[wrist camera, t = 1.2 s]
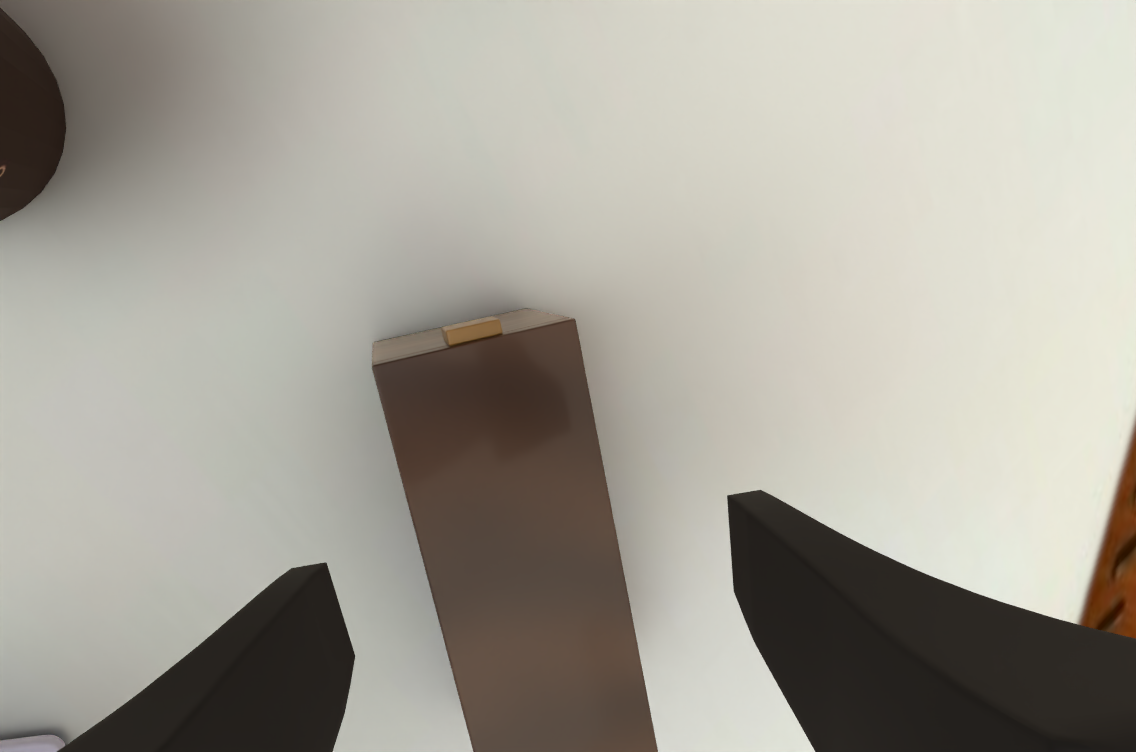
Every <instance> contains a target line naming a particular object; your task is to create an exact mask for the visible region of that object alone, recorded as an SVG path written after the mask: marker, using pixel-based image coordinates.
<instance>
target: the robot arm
mask: <svg viewBox="0 0 1136 752" xmlns="http://www.w3.org/2000/svg"><path fill="white" fill-rule="evenodd" d="M727 499H728V514H729V528H730V543H731V557H732V572H733V586H734V593H735V595H736V598H737V600H738V603H739V605H740V608H741V611H742V613H743V616H744V618H745V621H746V623H747V625H748V628H749V630H750V633H751V635H752V638H753V640H754V642H755V644H756V646H757V648H758V649H759V651H760V653H761V655H762V657H763V659H764V660H765V662H766V664H767V666H768V668H769V670H770V671H771V673H772V675H773V677H774V679H775V680H776V682H777V684H778V686H779V688H780V689H781V691H782V693H783V695H784V696H785V698H786V700H787V702H788V704H789V705H790V707H791V709H792V711H793V712H794V714H795V716H796V718H797V720H798V721H799V723H800V725H801V727H802V729H803V730H804V732H805V734H806V736H807V737H808V739H809V741H810V743H811V745H812V746H813V748H814V750H815V752H1136V639H1135V638H1130V637H1126V636H1122V635H1118V634H1114V633H1109V632H1105V631H1101V630H1097V629H1092V628H1089V627H1085V626H1081V625H1077V624H1074V623H1070V622H1066V621H1063V620H1059V619H1055V618H1052V617H1048V616H1045V615H1042V614H1039V613H1035V612H1032V611H1029V610H1026V609H1022V608H1019V607H1016V606H1012V605H1009V604H1006V603H1003V602H1000V601H997V600H994V599H991V598H988V597H985V596H982V595H979V594H976V593H973V592H971V591H968V590H966V589H963V588H960V587H958V586H955V585H953V584H950V583H947V582H945V581H942V580H940V579H937V578H934V577H932V576H929V575H927V574H924V573H922V572H920V571H917V570H915V569H913V568H910V567H908V566H906V565H904V564H902V563H899V562H897V561H895V560H893V559H891V558H889V557H887V556H884V555H882V554H880V553H878V552H876V551H874V550H872V549H870V548H868V547H866V546H864V545H862V544H860V543H858V542H856V541H854V540H852V539H850V538H848V537H846V536H844V535H842V534H840V533H839V532H837V531H835V530H833V529H831V528H829V527H827V526H826V525H824V524H822V523H820V522H818V521H817V520H815V519H813V518H811V517H809V516H808V515H806V514H804V513H802V512H801V511H799V510H797V509H795V508H793V507H792V506H790V505H788V504H786V503H785V502H783V501H781V500H779V499H777V498H775V497H774V496H772V495H770V494H768V493H766V492H764V491H762V490H757V491H751V492H745V493H739V494H733V495H727ZM354 659H355V654H354V651H353V648H352V644H351V641H350V638H349V635H348V631H347V628H346V625H345V622H344V618H343V615H342V612H341V608H340V605H339V602H338V599H337V595H336V592H335V589H334V586H333V582H332V579H331V576H330V573H329V569H328V566H327V563H320V564H314V565H308V566H302V567H296V568H291V569H290V570H289V571H287V572H286V573H284V574H283V575H282V576H280V577H279V578H278V579H277V580H275V581H274V582H273V583H272V584H270V585H269V586H268V587H267V588H266V589H264V590H263V591H262V592H261V593H260V594H258V595H257V596H256V597H255V598H254V599H253V600H251V601H250V602H249V603H248V604H247V605H246V606H244V607H243V608H242V609H241V610H240V611H239V612H237V613H236V614H235V615H234V616H233V617H232V618H230V619H229V620H228V621H227V622H226V623H225V624H223V625H222V626H221V627H220V628H219V629H218V630H216V631H215V632H214V633H213V634H212V635H210V636H209V637H208V638H207V639H206V640H205V641H203V642H202V643H201V644H200V645H199V646H198V647H196V648H195V649H194V650H193V651H191V652H190V653H189V654H188V655H186V656H185V657H184V658H183V659H181V660H180V661H179V662H178V663H176V664H175V665H174V666H173V667H171V668H170V669H169V670H168V671H166V672H165V673H164V674H163V675H161V676H160V677H159V678H158V679H156V680H155V681H154V682H153V683H151V684H150V685H149V686H148V687H146V688H145V689H144V690H143V691H141V692H140V693H139V694H137V695H136V696H135V697H133V698H132V699H131V700H129V701H128V702H127V703H125V704H124V705H123V706H121V707H120V708H119V709H117V710H116V711H114V712H113V713H112V714H110V715H109V716H108V717H106V718H105V719H103V720H102V721H101V722H99V723H98V724H96V725H95V726H93V727H92V728H90V729H89V730H88V731H86V732H85V733H83V734H82V735H80V736H79V737H77V738H76V739H75V740H73V741H72V742H70V743H69V744H67V745H66V746H65V744H64V741H63V740H62V739H60V738H59V737H57V736H54V735H39V736H31V737H23V738H15V739H7V740H0V752H332V751H333V748H334V745H335V742H336V739H337V736H338V733H339V729H340V726H341V723H342V720H343V716H344V713H345V709H346V704H347V699H348V694H349V689H350V683H351V677H352V671H353V665H354Z"/></svg>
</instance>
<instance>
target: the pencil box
mask: <svg viewBox="0 0 1136 752" xmlns="http://www.w3.org/2000/svg"><path fill="white" fill-rule="evenodd" d="M372 370H373V373H374V377H375V381H376V385H377V389H378V392H379V396H380V400H381V404H382V407H383V411H384V415H385V419H386V423H387V426H388V430H389V434H390V438H391V442H392V445H393V449H394V453H395V457H396V460H397V464H398V468H399V472H400V476H401V479H402V483H403V487H404V491H405V494H406V498H407V502H408V506H409V510H410V513H411V517H412V521H413V525H414V529H415V532H416V536H417V540H418V544H419V547H420V551H421V555H422V559H423V563H424V566H425V570H426V574H427V578H428V581H429V585H430V589H431V593H432V597H433V600H434V604H435V608H436V612H437V615H438V619H439V623H440V627H441V631H442V634H443V638H444V642H445V646H446V650H447V653H448V657H449V661H450V665H451V668H452V672H453V676H454V680H455V684H456V687H457V691H458V695H459V699H460V702H461V706H462V710H463V714H464V718H465V721H466V725H467V729H468V733H469V737H470V740H471V744H472V748H473V752H658V749H657V744H656V739H655V734H654V729H653V723H652V718H651V713H650V708H649V702H648V697H647V692H646V687H645V681H644V676H643V671H642V666H641V661H640V655H639V650H638V645H637V640H636V634H635V629H634V624H633V619H632V613H631V608H630V603H629V598H628V593H627V587H626V582H625V577H624V572H623V566H622V561H621V556H620V551H619V545H618V540H617V535H616V530H615V525H614V519H613V514H612V509H611V504H610V498H609V493H608V488H607V483H606V477H605V472H604V467H603V462H602V457H601V451H600V446H599V441H598V436H597V430H596V425H595V420H594V415H593V409H592V404H591V399H590V394H589V389H588V383H587V378H586V373H585V368H584V362H583V357H582V352H581V347H580V341H579V336H578V331H577V326H576V321H575V319H573V318H569V317H564V316H560V315H555V314H550V313H546V312H541V311H537V310H532V309H527V308H525V309H521V310H516V311H512V312H507V313H503V314H498V315H494V316H489V317H484V318H480V319H475V320H471V321H466V322H462V323H457V324H453V325H449V326H444V327H440V328H436V329H431V330H427V331H422V332H418V333H413V334H409V335H404V336H400V337H395V338H391V339H386V340H382V341H377V342H373V346H372Z"/></svg>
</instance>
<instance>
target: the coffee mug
mask: <svg viewBox="0 0 1136 752" xmlns="http://www.w3.org/2000/svg"><path fill="white" fill-rule="evenodd" d="M65 132H66V123H65V113H64V104H63V100H62V97H61V94H60V91H59V87H58V84H57V81H56V79H55V77H54V75H53V73H52V71H51V69H50V67H49V66H48V64H47V62H46V60H45V58H44V56H43V55H42V53H41V52H40V51H39V50H38V48H37V47H36V46H35V45H34V43H33V42H32V41H31V39H30V38H29V37H28V36H27V34H26V33H25V32H24V31H23V30H22V29H21V28H20V27H19V26H18V25H17V24H16V23H15V22H14V21H13V20H12V19H11V18H10V17H9V16H8V15H7V14H6V13H5V12H4V11H3V10H2V9H1V8H0V221H1V220H3V219H5V218H6V217H8V216H10V215H12V214H14V213H15V212H17V211H19V210H21V209H23V208H24V207H25V206H26V205H27V204H28V203H30V202H31V201H32V200H33V199H34V198H35V197H36V196H37V195H39V194H40V193H41V192H42V190H43V189H44V187H45V186H46V185H47V183H48V182H49V180H50V179H51V178H52V176H53V175H54V173H55V171H56V168H57V166H58V163H59V160H60V158H61V155H62V153H63V147H64V140H65Z"/></svg>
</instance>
